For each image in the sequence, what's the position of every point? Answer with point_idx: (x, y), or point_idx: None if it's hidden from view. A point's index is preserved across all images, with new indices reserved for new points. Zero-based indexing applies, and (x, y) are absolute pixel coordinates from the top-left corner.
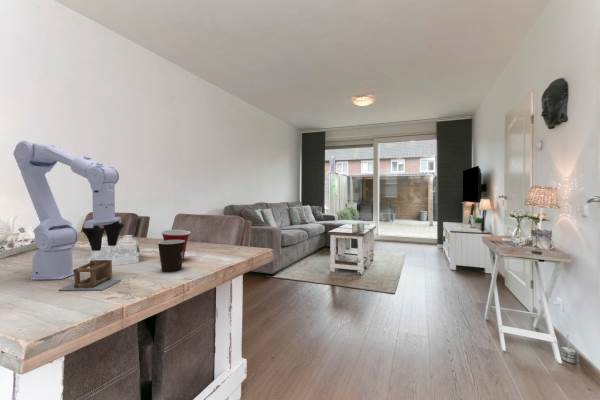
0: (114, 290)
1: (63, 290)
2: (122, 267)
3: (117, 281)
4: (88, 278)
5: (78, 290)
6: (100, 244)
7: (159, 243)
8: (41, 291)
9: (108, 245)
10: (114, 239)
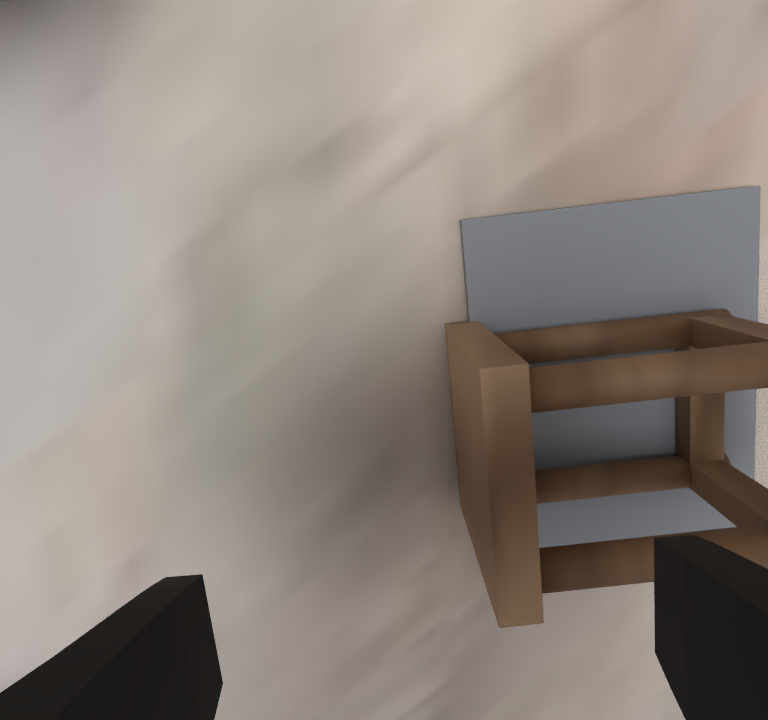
0: (751, 72)
1: None
2: (18, 529)
3: (520, 214)
4: (568, 486)
5: (751, 404)
6: (764, 582)
7: None
8: None
9: (219, 689)
10: (140, 678)
